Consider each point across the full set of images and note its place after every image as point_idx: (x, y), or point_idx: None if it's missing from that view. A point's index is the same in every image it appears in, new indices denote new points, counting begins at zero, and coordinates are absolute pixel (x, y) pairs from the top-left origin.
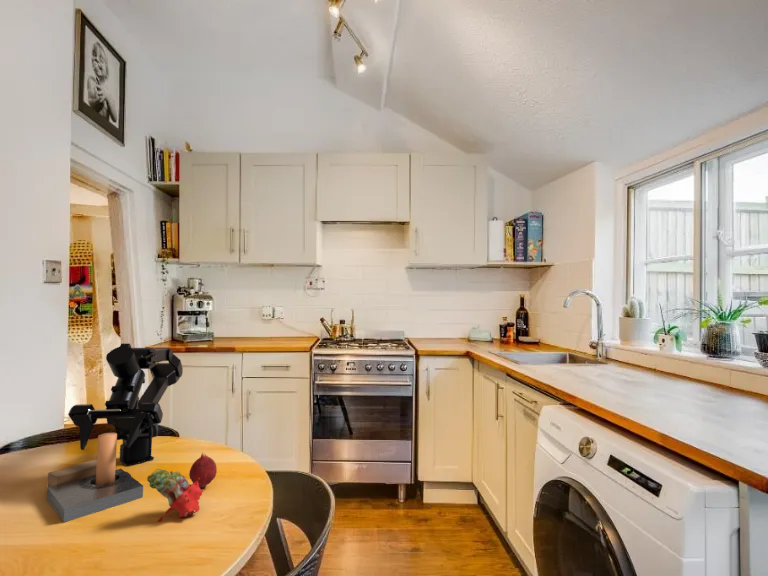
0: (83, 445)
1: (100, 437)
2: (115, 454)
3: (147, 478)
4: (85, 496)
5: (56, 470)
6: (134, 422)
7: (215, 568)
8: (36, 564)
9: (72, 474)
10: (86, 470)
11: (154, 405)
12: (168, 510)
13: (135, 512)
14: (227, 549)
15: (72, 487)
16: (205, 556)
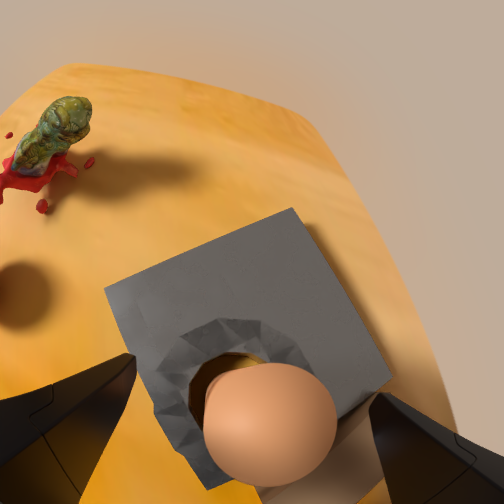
0: (382, 402)
1: (310, 374)
2: (205, 402)
3: (91, 105)
4: (263, 268)
5: None
6: (37, 424)
7: (73, 63)
8: (271, 110)
9: (354, 425)
10: None
11: None
12: (71, 165)
13: (131, 214)
14: (47, 84)
15: (325, 357)
16: (71, 77)
